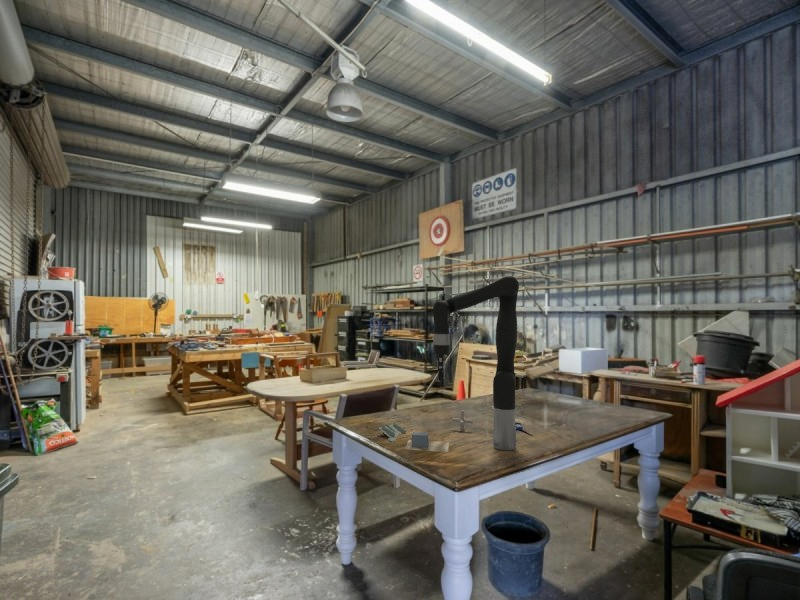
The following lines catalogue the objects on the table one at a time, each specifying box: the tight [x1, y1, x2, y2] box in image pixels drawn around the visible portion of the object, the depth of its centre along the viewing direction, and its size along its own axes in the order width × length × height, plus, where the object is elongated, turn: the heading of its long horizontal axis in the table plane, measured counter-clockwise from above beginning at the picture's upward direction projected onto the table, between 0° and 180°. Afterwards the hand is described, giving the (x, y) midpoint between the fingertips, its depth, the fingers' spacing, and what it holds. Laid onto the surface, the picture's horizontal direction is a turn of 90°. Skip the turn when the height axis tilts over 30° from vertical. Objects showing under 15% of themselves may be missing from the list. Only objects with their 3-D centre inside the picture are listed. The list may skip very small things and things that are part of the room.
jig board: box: [404, 439, 450, 453], centre depth 171 cm, size 18×13×4 cm
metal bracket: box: [378, 422, 407, 442], centre depth 189 cm, size 14×6×15 cm
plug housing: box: [411, 431, 430, 448], centre depth 171 cm, size 7×4×5 cm, turn 82°
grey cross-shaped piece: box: [451, 410, 474, 432], centre depth 199 cm, size 10×10×10 cm
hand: (441, 378), depth 183 cm, fingers open, 8 cm apart
